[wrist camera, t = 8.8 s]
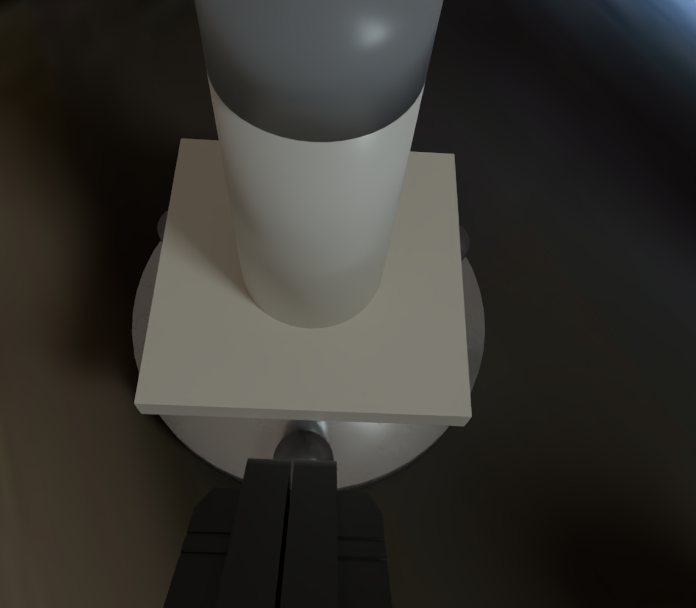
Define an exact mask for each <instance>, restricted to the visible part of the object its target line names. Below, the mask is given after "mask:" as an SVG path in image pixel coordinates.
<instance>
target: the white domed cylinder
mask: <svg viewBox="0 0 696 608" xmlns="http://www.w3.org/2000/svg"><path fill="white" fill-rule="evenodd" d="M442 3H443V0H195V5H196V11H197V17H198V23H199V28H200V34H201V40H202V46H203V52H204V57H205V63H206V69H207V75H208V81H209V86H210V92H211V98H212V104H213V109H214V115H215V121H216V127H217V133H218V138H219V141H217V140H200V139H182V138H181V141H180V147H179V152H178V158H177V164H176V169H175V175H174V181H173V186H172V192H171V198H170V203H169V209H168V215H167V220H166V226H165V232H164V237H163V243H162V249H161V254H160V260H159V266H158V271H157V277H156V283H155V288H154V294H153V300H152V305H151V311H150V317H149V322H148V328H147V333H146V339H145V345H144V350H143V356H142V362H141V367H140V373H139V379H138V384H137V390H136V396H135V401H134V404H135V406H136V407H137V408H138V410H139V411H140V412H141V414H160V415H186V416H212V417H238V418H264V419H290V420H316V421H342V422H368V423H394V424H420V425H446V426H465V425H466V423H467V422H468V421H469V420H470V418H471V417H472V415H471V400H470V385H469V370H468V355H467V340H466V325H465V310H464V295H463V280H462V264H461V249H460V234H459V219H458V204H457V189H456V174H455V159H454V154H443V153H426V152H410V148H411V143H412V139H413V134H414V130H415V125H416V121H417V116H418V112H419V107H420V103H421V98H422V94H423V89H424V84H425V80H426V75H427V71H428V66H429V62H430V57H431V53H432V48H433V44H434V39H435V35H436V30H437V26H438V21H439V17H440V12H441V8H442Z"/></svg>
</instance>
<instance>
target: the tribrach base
mask: <svg viewBox="0 0 696 608" xmlns="http://www.w3.org/2000/svg"><path fill="white" fill-rule="evenodd" d="M167 215H168V210H167V211H166V212H165V213H164V214H163V215H162V216H161V218H160V220H159V222H158V226H157V230H158V235H159V237H160V240H161V241H160V243H159V244H158V245H157V247H156V248H155V250H154V251H153V253H152V255H151V257H150V259H149V261H148V263H147V265H146V267H145V269H144V271H143V274H142V277H141V280H140V283H139V286H138V289H137V293H136V298H135V303H134V308H133V321H132V337H133V348H134V355H135V359H136V363H137V367H138V371H139V373H140V367H141V362H142V356H143V350H144V345H145V339H146V333H147V328H148V322H149V317H150V311H151V305H152V300H153V294H154V288H155V283H156V277H157V271H158V266H159V260H160V254H161V249H162V243H163V237H164V232H165V226H166V220H167ZM459 234H460V249H461V264H462V280H463V295H464V310H465V325H466V340H467V355H468V370H469V385H470V393H471V390H472V388H473V385H474V382H475V380H476V377H477V375H478V372H479V367H480V363H481V359H482V354H483V347H484V335H485V325H484V309H483V304H482V299H481V294H480V290H479V287H478V284H477V281H476V278H475V275H474V272H473V270H472V268H471V266H470V264H469V262H468V260H467V258H466V253H467V251H468V249H469V244H470V242H469V236H468V234H467V232H466V231H465V229H464V228H463V227H462V226H461V225H460V224H459ZM159 415H160V414H159ZM160 417H161V418H162V419H163V421H164V422H165V423H166V425H167V426H168V427H169V428H170V429H171V431H172V432H173V433H174V434H175V436H176V437H177V438H178V439H179V440H180V442H181V443H182V444H183V445H184V446H185V447H187V448H188V449H189V450H190V451H191V452H192V453H193V454H194V455H195V456H197V457H198V458H199V459H200V460H202V461H203V462H205V463H206V464H207V465H209V466H210V467H212V468H213V469H215V470H216V471H218V472H220V473H222V474H224V475H226V476H228V477H230V478H232V479H234V480H236V481H238V482H240V483H242V482H243V477H244V473H245V468H246V463H247V460H248V458H258V459H286V460H291V486H290V495H291V489H292V479H293V468H294V460H319V461H337V492H346V491H351V490H355V489H360V488H363V487H365V486H368V485H371V484H373V483H376V482H379V481H381V480H384V479H386V478H387V477H389V476H391V475H393V474H395V473H397V472H399V471H400V470H402V469H404V468H405V467H407V466H408V465H409V464H411V463H412V462H414V461H415V460H416V459H418V458H419V457H420V456H422V455H423V454H424V453H425V452H426V451H427V450H428V449H429V448H430V447H431V446H432V445H433V444H434V443H435V442H436V441H437V440H438V439H439V438H440V437H441V436H442V434H443V433H444V432H445V430H446V429H447V428H448V427H449V426H446V425H420V424H394V423H368V422H342V421H316V420H290V419H264V418H238V417H212V416H186V415H160Z"/></svg>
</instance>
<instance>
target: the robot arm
mask: <svg viewBox="0 0 696 608" xmlns="http://www.w3.org/2000/svg"><path fill="white" fill-rule="evenodd" d="M290 486H291V460H286V459H258V458H248V460H247V463H246V468H245V473H244V477H243V482H242V486H241V489H238V488H213V489H212V490H211V491H210V492H209V493H208V494H207V495H206V496H205V497H204V498H203V499H202V500H201V501H200V502H199V504H198V505H197V506H196V507H195V508H194V511H193V514H192V517H191V521H190V524H189V527H188V530H187V536H186V537H185V540H184V543H183V546H182V549H181V556H180V557H179V559H178V562H177V565H176V569H175V572H174V575H173V578H172V581H171V585H170V588H169V591H168V594H167V597H166V600H165V604H164V607H163V608H392V603H391V594H390V584H389V575H388V566H387V562H386V558H387V557H386V548H385V542H384V529H383V520H382V513H381V512H380V510H379V509H378V507H377V506H376V505H375V503H374V502H373V500H372V499H371V498H370V496H369V495H368V493H360V492H337V461H319V460H294V468H293V479H292V489H291V499H290Z"/></svg>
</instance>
